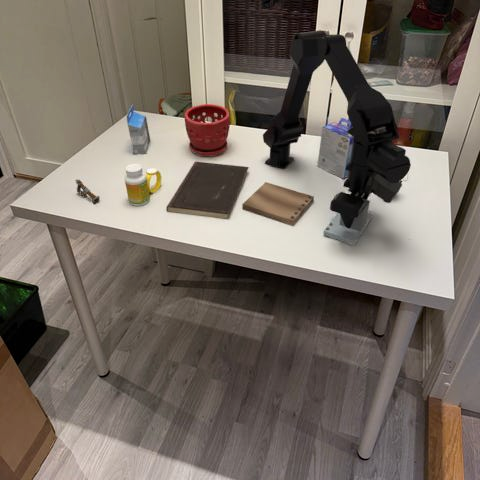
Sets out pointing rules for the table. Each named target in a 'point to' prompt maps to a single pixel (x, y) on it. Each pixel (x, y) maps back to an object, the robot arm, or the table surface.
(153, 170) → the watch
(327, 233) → the stub
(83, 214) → the table surface
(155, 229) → the table surface
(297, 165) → the table surface
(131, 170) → the supplement bottle
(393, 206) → the table surface
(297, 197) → the board
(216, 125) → the plant pot
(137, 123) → the label tape box
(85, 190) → the wooden post with brackets
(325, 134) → the ink cartridge box
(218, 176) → the hardcover book
